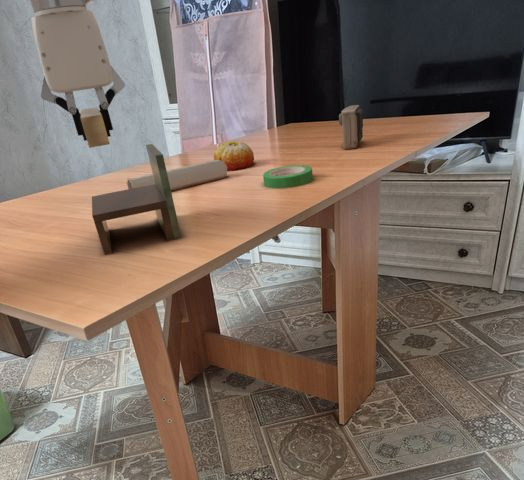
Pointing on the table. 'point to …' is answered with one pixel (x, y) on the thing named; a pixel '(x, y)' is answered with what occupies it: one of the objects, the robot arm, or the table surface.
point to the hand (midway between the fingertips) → (97, 136)
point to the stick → (94, 127)
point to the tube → (185, 175)
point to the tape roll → (288, 176)
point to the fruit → (235, 155)
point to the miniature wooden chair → (138, 203)
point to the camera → (351, 126)
